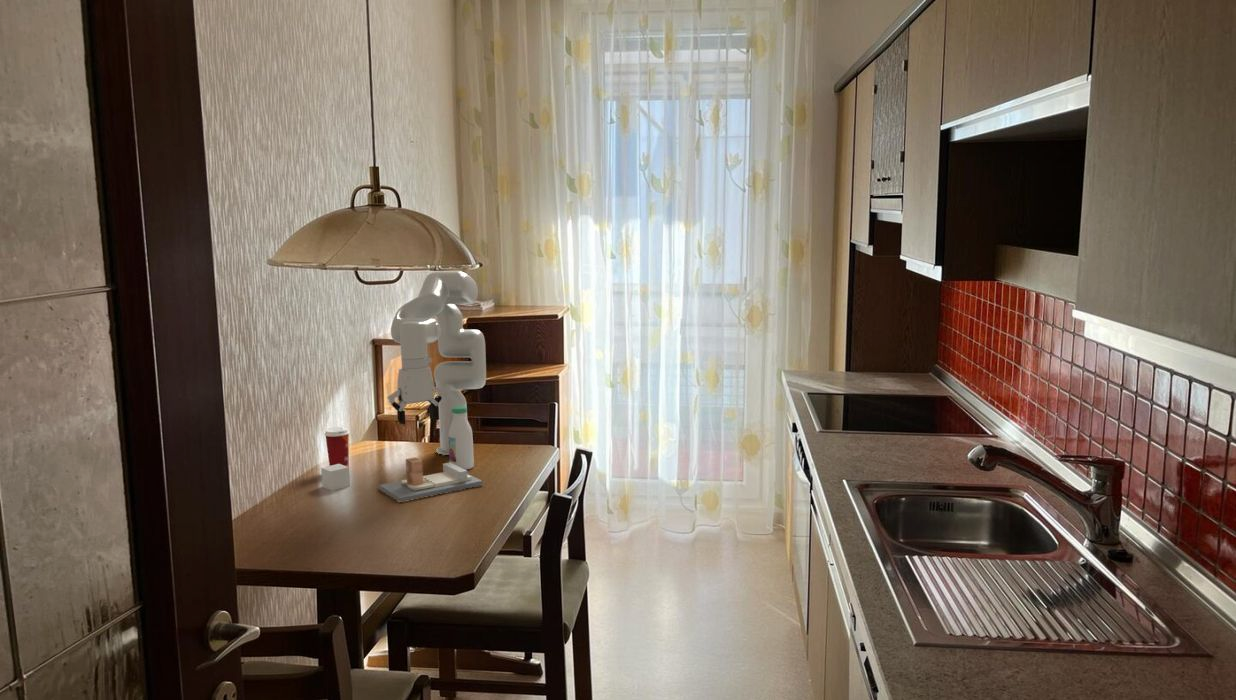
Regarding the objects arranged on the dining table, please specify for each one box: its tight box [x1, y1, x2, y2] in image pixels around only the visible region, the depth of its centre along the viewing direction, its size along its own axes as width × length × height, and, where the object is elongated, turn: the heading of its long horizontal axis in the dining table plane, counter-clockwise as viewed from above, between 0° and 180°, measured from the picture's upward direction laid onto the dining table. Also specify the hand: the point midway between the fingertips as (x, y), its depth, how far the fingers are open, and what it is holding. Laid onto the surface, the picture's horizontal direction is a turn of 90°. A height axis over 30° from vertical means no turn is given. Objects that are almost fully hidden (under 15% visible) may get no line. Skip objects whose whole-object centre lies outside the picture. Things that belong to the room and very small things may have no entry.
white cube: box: [320, 464, 351, 491], centre depth 266 cm, size 6×6×6 cm
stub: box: [400, 457, 434, 491], centre depth 260 cm, size 10×6×8 cm, turn 36°
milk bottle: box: [448, 406, 475, 471], centre depth 283 cm, size 8×8×20 cm
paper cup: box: [324, 426, 351, 468], centre depth 281 cm, size 8×8×14 cm
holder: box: [378, 461, 483, 502], centre depth 263 cm, size 16×26×5 cm, turn 126°
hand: (417, 421), depth 258 cm, fingers open, 9 cm apart
